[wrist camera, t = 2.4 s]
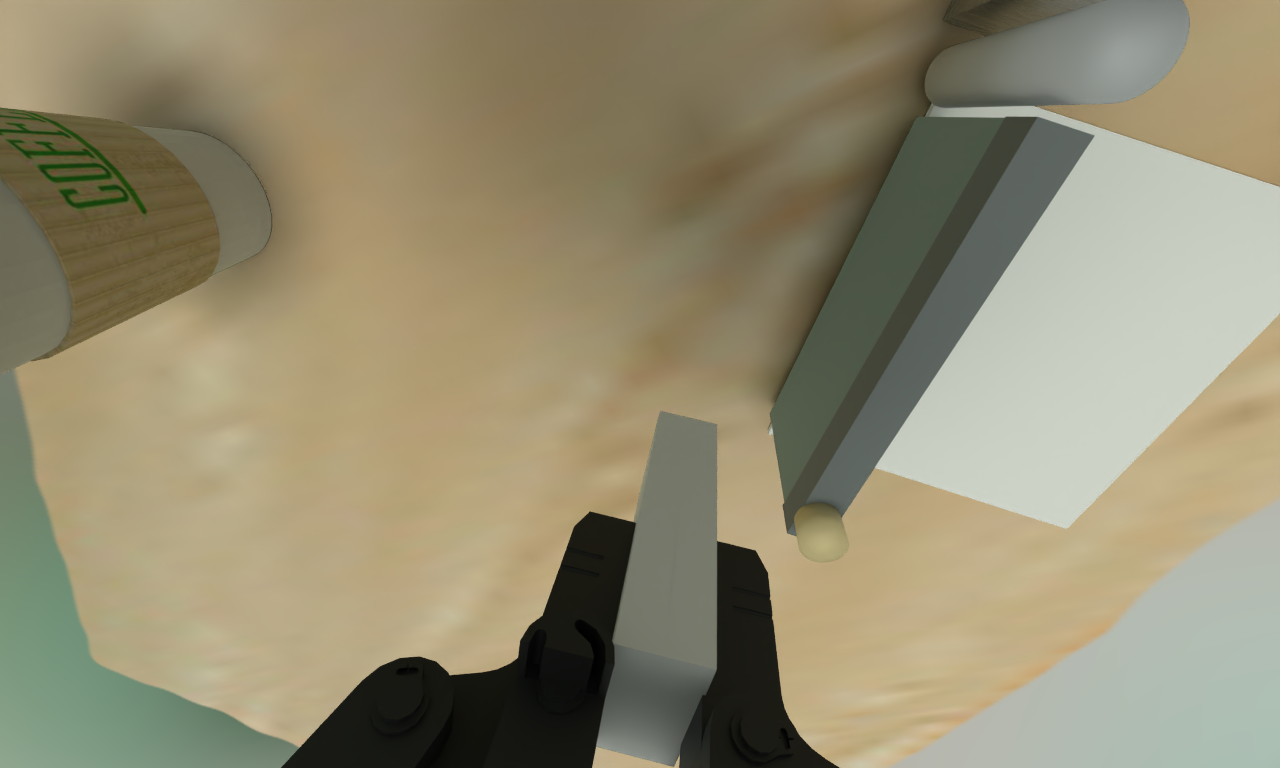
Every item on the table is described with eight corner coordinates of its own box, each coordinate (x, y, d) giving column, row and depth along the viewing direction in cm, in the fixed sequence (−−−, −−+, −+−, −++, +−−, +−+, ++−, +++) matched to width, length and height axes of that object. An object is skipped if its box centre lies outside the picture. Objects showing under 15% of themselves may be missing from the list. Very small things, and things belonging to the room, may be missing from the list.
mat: (944, 78, 19) (948, 77, 19) (1362, 216, 19) (1373, 217, 19) (767, 429, 27) (768, 433, 27) (1062, 523, 28) (1066, 528, 27)
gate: (944, 36, 18) (1146, -35, 9) (997, 54, 18) (1247, -2, 9) (762, 411, 26) (782, 555, 17) (799, 423, 26) (837, 573, 17)
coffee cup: (219, 51, 22) (-489, -38, 9) (342, 263, 26) (-31, 409, 13) (77, 130, 25) (-631, 147, 12) (208, 311, 29) (-212, 473, 16)
